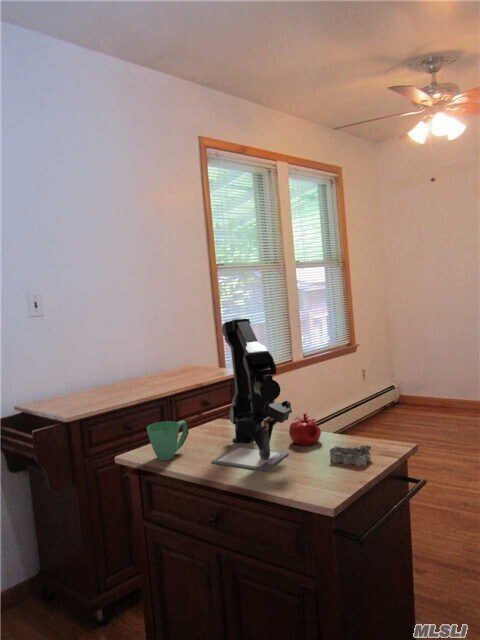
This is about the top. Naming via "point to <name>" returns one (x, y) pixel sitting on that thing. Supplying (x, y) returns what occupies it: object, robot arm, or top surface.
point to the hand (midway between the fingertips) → (264, 447)
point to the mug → (166, 438)
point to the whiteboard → (249, 458)
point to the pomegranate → (304, 431)
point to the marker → (265, 444)
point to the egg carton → (351, 455)
